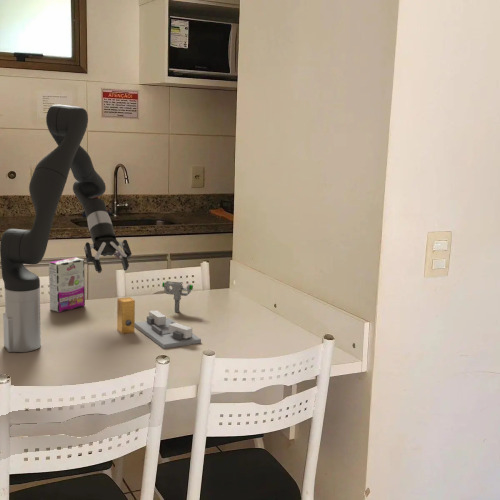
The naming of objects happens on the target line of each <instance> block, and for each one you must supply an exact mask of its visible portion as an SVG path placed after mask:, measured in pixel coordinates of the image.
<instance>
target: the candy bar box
mask: <svg viewBox="0 0 500 500" xmlns="http://www.w3.org/2000/svg"><path fill="white" fill-rule="evenodd" d="M48 276H49V277H48V281H49V283H48V284H49V285H48V286H49V310H50V311H51V312H56V313H62V312H66V311H70V310H73V309H78V308H81V307H85V305H86V296H85V294H86V293H85V291H86V289H85V286H86V285H85V259H84V258H81V257H76V256H75V257H71V258H67V259H66V258H64V259H60V260H54V261H49V262H48Z"/></svg>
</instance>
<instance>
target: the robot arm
mask: <svg viewBox="0 0 500 500" xmlns="http://www.w3.org/2000/svg"><path fill="white" fill-rule="evenodd" d="M45 117H46V118H45V120H46V127H47V130H48V132H49V133H50V135H51V137H52V138H53V141H54V142H55V143H56V145H57V147H56V148H55V149H53V150H52V151H50V152H49V153H48V154H47V155H45V156H44V157H43V158H42V159H41V160H40V161H39V162H38V163H37V164H36V166H35V168H34V171H33V173H32V175H31V179H30V181H29V186H28V191H29V195H30V198H31V202H32V205H33V209H34V212H35V213H34V215H35V217H34V220H33V221H34V222H33V224H32V227H31V229H19V228H8V229H7V230H5V231H4V233H2V235H1V237H0V238H1V239H0V266H1V268H0V269H1V277H2V281H3V283H4V312H3V315H2V316H3V317H2V318H3V346H4V347H5V349H6V351H7V352H8V353H12V352H13V353H15V352H16V353H27V352H32V351H36V350H38V349H40V347H41V345H42V342H41V339H42V338H41V337H42V336H41V334H42V333H41V280H40V277H39V275H37V274H35V272H32V271H30V270H29V269H27V268H26V266H25V265H32V266H33V265H38V264H39V263H40V262H42V260H43V258H44V256H45V253H46V251H47V248H48V243H49V239H50V235H51V230H52V227H53V222H54V220H55V219H54V218H55V216H56V212H57V209H58V205H59V203H60V199H61V197H62V195H63V192H64V189H65V186H66V183H67V180H68V177H69V174H70V171H71V173H72V176H73V178H74V179H75V181H74V182H73V185H72V191H73V194H74V196H75V197H76V198H77V200H78V201H79V202H80V204H81V206H82V207H83V210H84V213H85V216H86V221H87V226H88V231H89V233H90V237H91V242H92V243H90V242H87V241H86V242H85V245H84V246H83V247H84V248H83V249H84V253H85V259H86V262H87V263H90V262H91V263H92V264H93V265H94V269H95V271H96V272H97V273H98V274H101V273H102V270H103V268H102V264H101V260H100V257H101V256H102V257H107V256H114V257H116V258H118V259H119V260H120V261H121V265H122V268H123V271H127V270H128V269H129V266H130V264H129V261H128V260H129V259H131V256H132V251H131V248H130V246H129V243H128V241H127V239H123V241H118V239H117V237H116V232H115V229H114V226H113V223H112V220H111V219H112V218H111V217H110V215H109V212H108V208H107V205H106V202H105V201H104V199H102V198H98V197H101V196H103V195H104V194H105V192H106V190H107V187H106V183H105V181H104V180H103V178H102V176H100V174H99V173H97V171H96V170H95V169H96V168H94V167H95V166H94V164H93V162H92V158H91V157H90V154H89V152H87V150H86V149H84V147H82V146H81V143H82V141H83V138H84V136H85V134H86V131H87V128H88V123H89V114H88V111H87V110H86V109H85V108H84V107H81V106H76V105H75V106H74V105H66V104H52V105H51V106H49V108H48V109H47V112H46V115H45ZM92 249H93V250H94V251H96V254H95V256H93V253H92Z"/></svg>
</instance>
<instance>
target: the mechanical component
mask: <svg viewBox="0 0 500 500" xmlns="http://www.w3.org/2000/svg"><path fill="white" fill-rule="evenodd" d="M161 287H163V288H164V293H165V294H167V295H173V300H174V313H179V312H180V300H182V296H184V297H187V296H188V295H189V294H190V293H191V292H192V291H193V289H194V285H193V284H189V283H188V284H187V286H186V287H184V285H183V282H179V281H169V280H166V281H165V282H164V281H163V282H162V284H161Z"/></svg>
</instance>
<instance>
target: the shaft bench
mask: <svg viewBox="0 0 500 500" xmlns="http://www.w3.org/2000/svg"><path fill="white" fill-rule="evenodd" d="M134 328H136V329H137V330H139V331H140V332H141V333H142V334H144V335H145V336H147V337H148V339H151V340H152V341H153V342H154V343H155V344H156V345H158V346H159V347H161V348H162V349H169V348H176V347H177V348H178V347H182V346H183V347H184V346H191V345H198V344H202V339H201V337H199V336H197V335H196V334H195V333H193V327H190V326H188V325H187V326H186V325H184V324H181V323H177V322H176V321H174V320H173V319H172V318H168V317H167V316H166V315H164V314H163V313H162V312H160V311H159V310H148V316H146V320H145V321H137V322H135V324H134Z"/></svg>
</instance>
